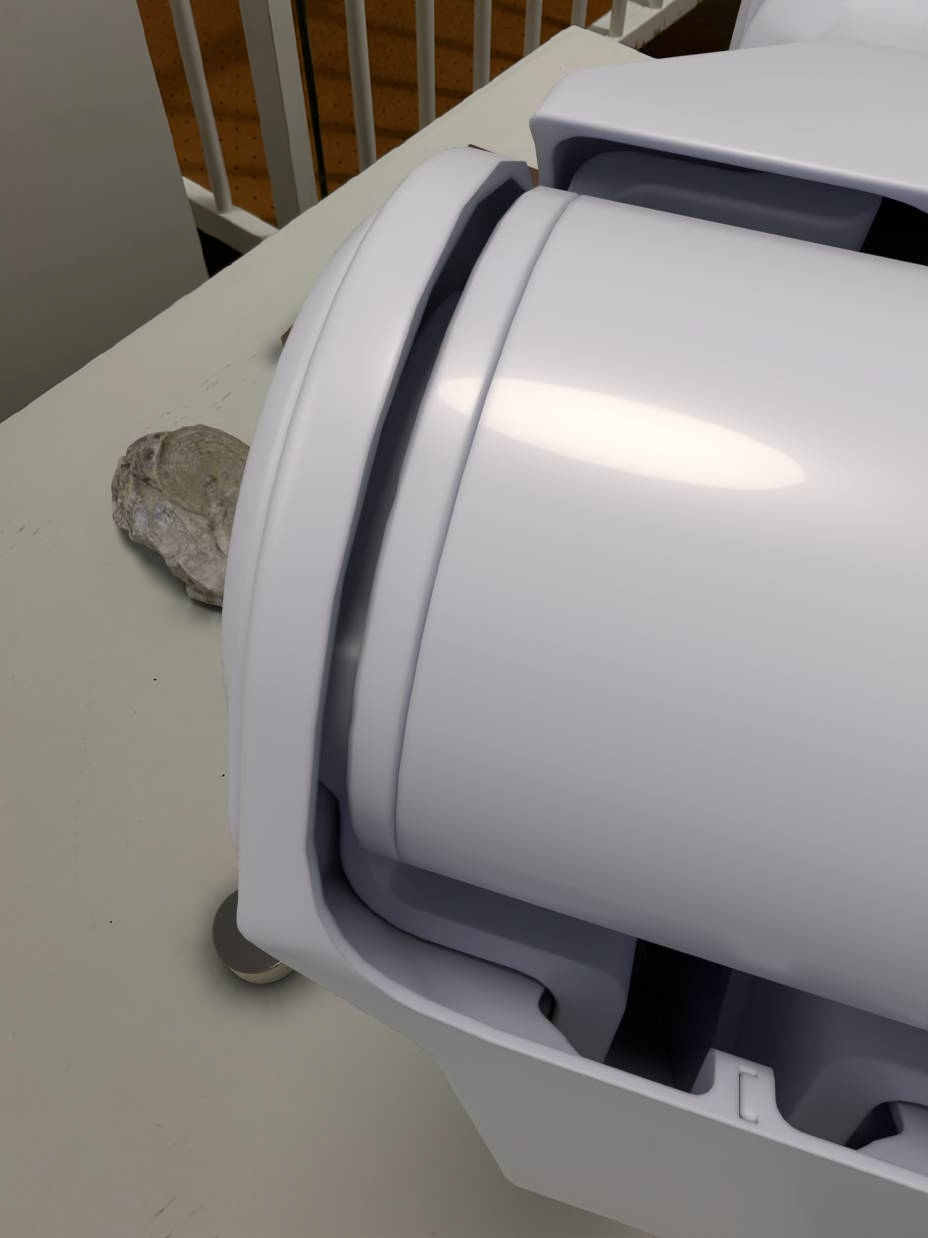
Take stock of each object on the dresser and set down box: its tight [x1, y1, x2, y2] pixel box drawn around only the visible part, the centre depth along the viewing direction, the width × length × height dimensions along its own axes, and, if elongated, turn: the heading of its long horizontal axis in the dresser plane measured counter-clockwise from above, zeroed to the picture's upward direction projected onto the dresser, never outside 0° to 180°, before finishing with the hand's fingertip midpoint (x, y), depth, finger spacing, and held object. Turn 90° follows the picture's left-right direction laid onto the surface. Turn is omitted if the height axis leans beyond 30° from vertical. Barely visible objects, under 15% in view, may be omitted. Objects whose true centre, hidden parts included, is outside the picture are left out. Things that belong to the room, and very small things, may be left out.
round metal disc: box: [211, 889, 295, 985], centre depth 45 cm, size 4×4×3 cm
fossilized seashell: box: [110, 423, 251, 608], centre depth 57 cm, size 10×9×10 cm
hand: (685, 530), depth 46 cm, fingers open, 7 cm apart
